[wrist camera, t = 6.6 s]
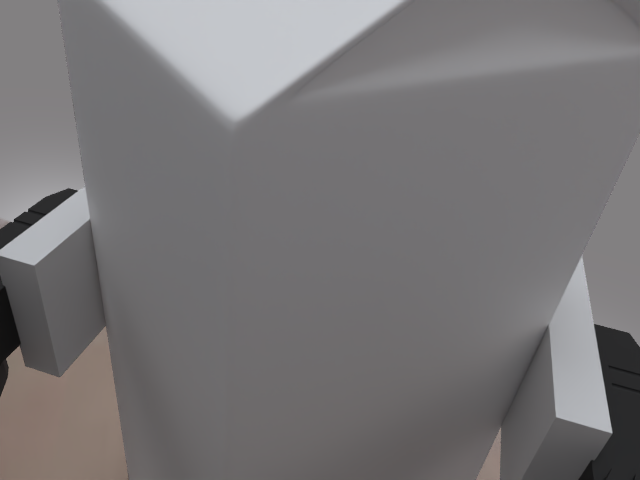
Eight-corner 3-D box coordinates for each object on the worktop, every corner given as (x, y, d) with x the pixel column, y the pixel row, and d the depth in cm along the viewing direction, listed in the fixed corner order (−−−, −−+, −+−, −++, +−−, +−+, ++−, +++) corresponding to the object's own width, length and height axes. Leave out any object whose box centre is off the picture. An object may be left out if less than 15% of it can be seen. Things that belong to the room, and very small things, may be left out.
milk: (297, 498, 22) (422, -264, 9) (395, 660, 18) (859, -296, 5) (138, 582, 19) (-2, -383, 6) (214, 800, 15) (258, -690, 2)
